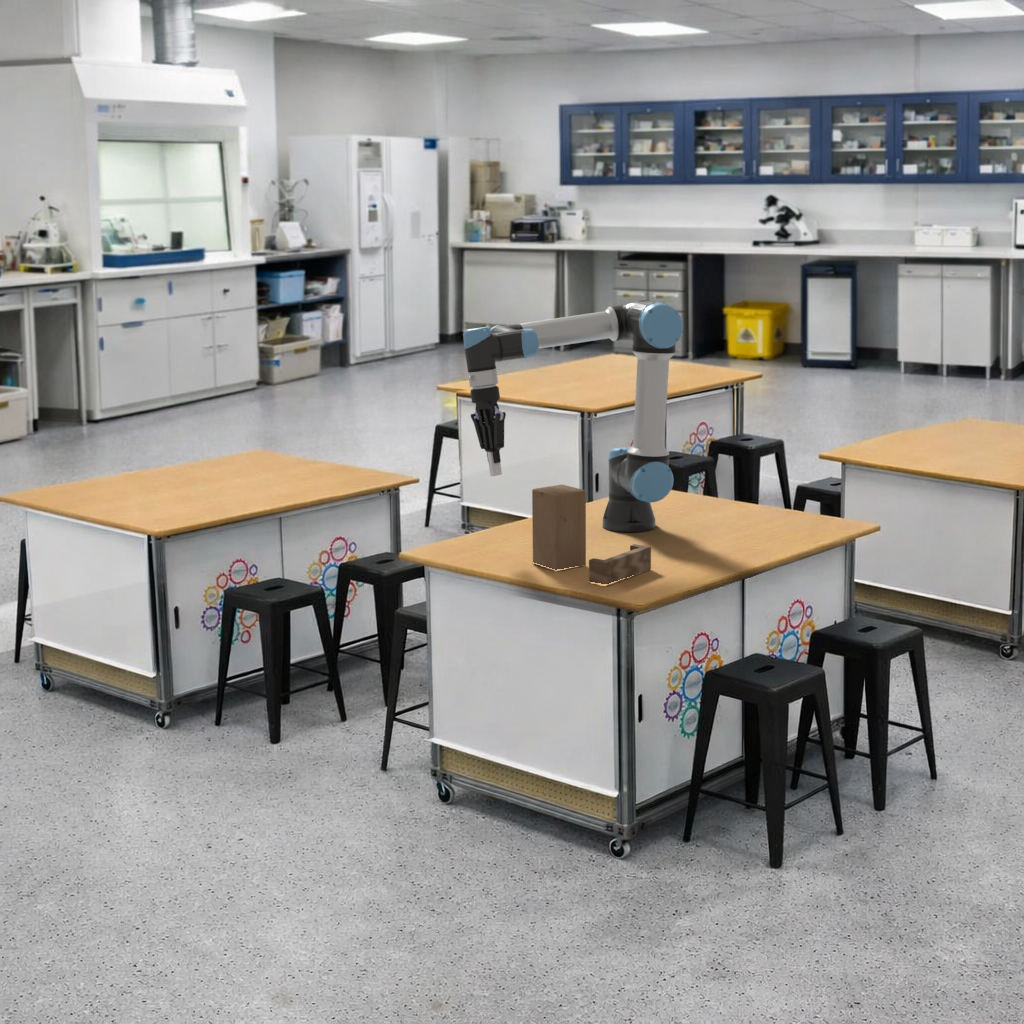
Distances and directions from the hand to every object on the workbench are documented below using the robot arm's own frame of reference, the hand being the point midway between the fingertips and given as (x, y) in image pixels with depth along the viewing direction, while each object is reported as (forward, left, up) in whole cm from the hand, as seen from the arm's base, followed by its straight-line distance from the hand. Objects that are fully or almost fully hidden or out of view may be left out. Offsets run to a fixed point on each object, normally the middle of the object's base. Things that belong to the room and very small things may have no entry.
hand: (496, 475), depth 382 cm
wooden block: (+2, +22, -21) cm, 31 cm away
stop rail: (+2, +41, -21) cm, 46 cm away
